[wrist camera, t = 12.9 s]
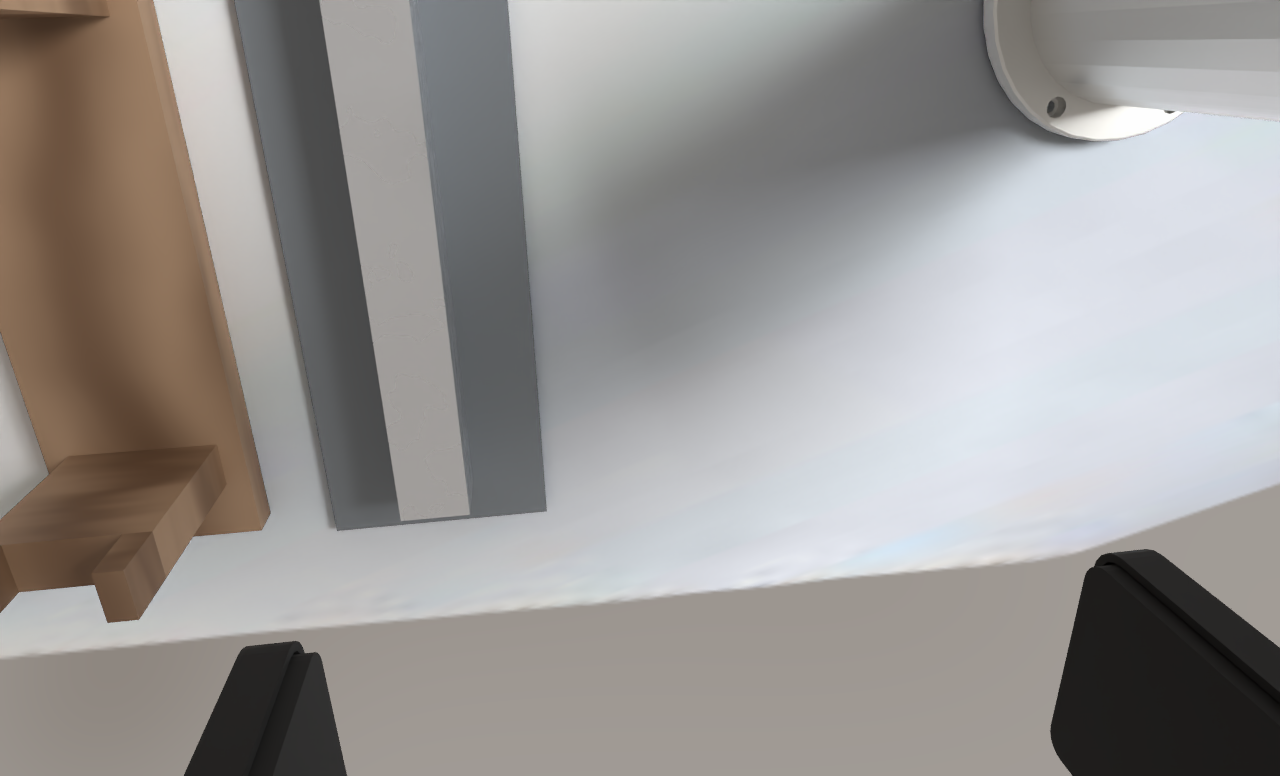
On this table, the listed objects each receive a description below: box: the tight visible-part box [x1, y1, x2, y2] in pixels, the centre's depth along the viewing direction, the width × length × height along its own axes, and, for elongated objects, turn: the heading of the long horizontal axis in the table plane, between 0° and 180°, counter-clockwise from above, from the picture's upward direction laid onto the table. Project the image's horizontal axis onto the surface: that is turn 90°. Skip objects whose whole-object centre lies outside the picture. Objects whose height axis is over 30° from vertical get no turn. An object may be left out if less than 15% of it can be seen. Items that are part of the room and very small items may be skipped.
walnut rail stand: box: [0, 0, 270, 623], centre depth 28 cm, size 8×26×11 cm, turn 1°
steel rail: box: [319, 0, 473, 521], centre depth 33 cm, size 3×24×3 cm, turn 1°
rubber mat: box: [234, 0, 547, 531], centre depth 35 cm, size 10×28×1 cm, turn 1°
